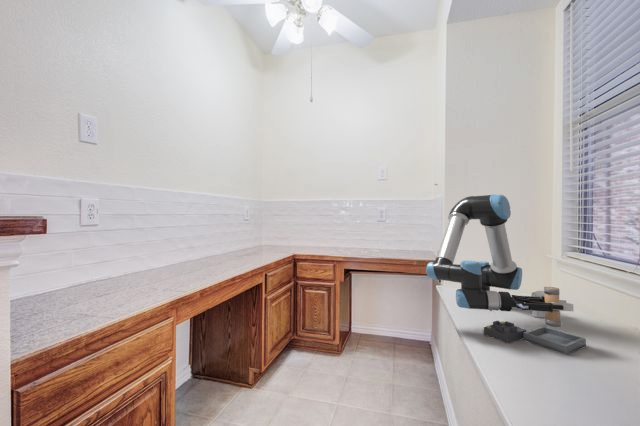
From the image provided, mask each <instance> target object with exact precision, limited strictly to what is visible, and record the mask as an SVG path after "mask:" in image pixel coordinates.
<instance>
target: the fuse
mask: <svg viewBox="0 0 640 426" xmlns="http://www.w3.org/2000/svg"><path fill="white" fill-rule="evenodd" d="M543 291H544V293H545V303H551V302H554V303H560V301H559V299H560V288H558V287H554V286H543ZM544 319H545V320H544V323H545V325H547V326H548V327H555V328H561V327H562V325H561V324H562V322H561V311H558V310H553V312H548V311H545V317H544Z"/></svg>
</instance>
